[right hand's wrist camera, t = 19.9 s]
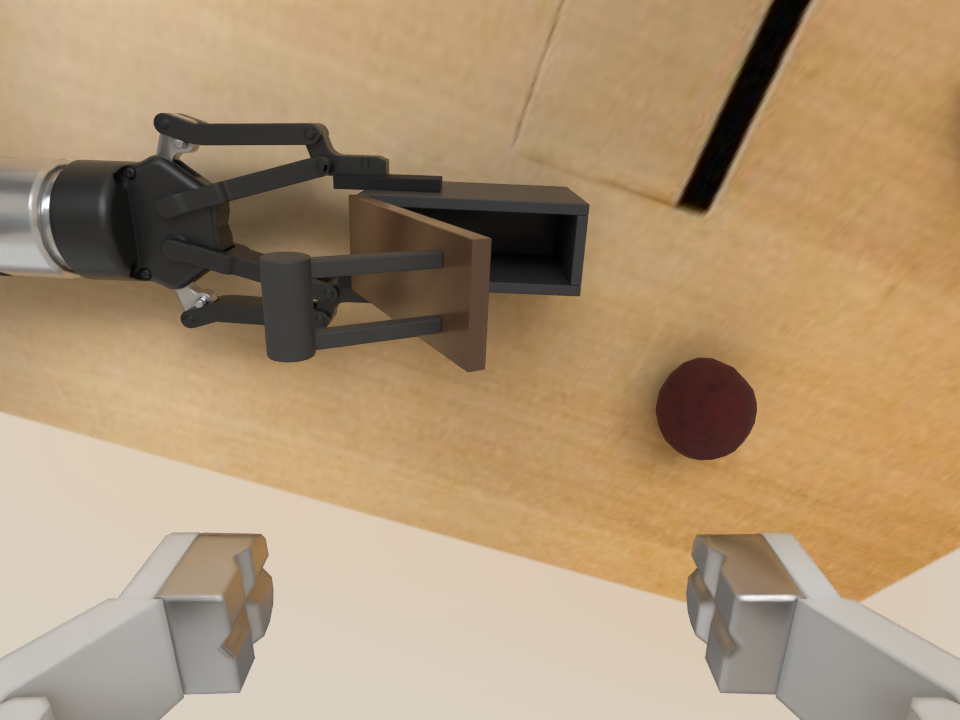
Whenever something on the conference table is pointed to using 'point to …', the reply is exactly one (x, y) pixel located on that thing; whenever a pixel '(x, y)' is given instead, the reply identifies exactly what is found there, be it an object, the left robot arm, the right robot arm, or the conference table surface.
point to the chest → (512, 230)
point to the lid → (386, 286)
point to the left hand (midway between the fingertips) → (439, 233)
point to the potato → (705, 409)
